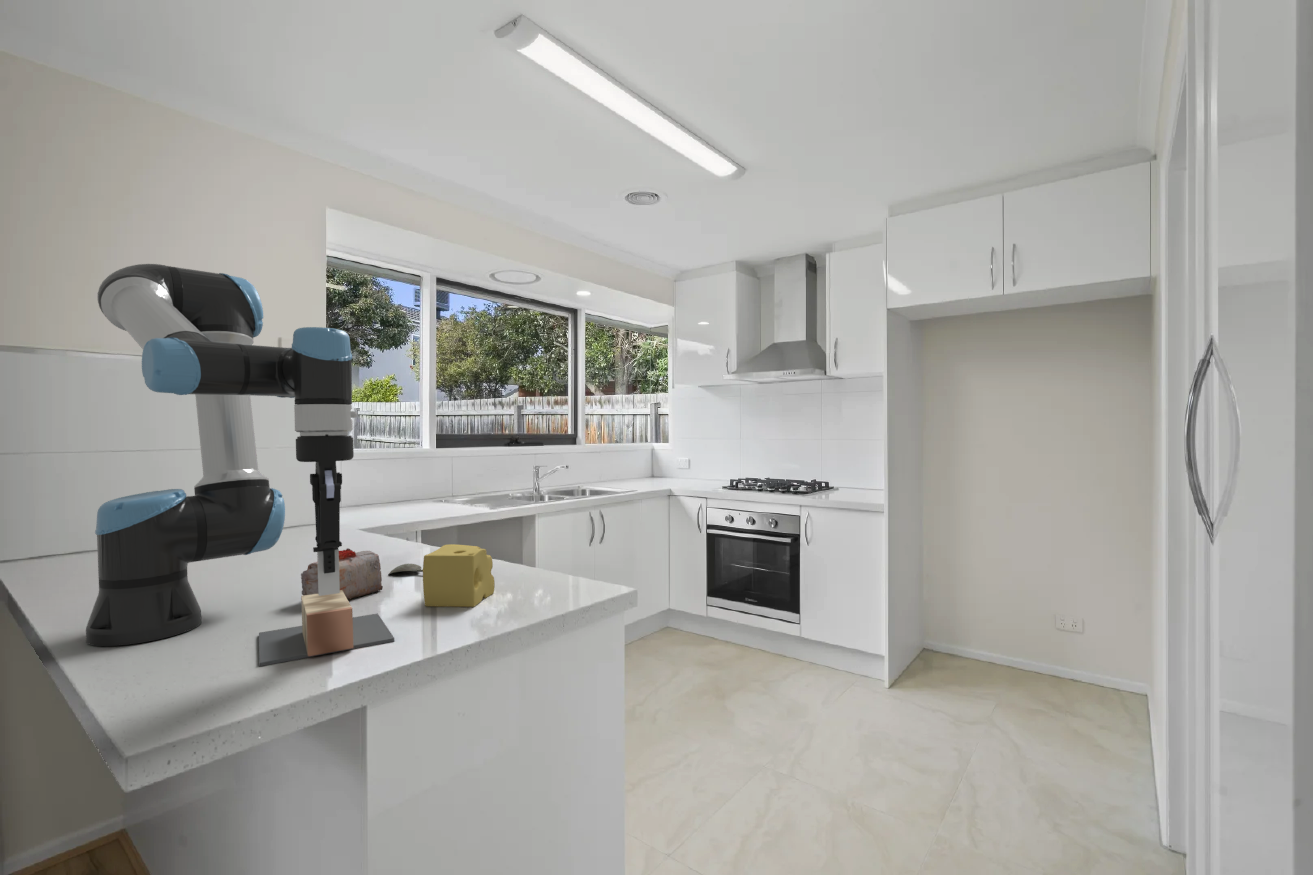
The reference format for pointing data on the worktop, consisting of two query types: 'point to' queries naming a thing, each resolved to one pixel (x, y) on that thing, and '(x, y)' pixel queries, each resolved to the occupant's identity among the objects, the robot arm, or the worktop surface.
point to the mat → (292, 645)
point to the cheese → (457, 576)
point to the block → (326, 623)
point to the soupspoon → (407, 568)
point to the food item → (349, 574)
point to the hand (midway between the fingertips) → (329, 593)
